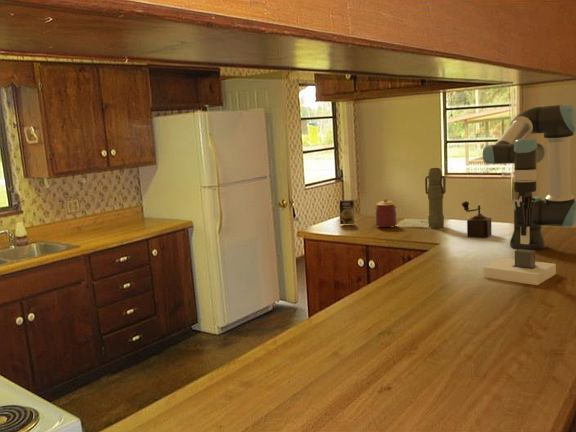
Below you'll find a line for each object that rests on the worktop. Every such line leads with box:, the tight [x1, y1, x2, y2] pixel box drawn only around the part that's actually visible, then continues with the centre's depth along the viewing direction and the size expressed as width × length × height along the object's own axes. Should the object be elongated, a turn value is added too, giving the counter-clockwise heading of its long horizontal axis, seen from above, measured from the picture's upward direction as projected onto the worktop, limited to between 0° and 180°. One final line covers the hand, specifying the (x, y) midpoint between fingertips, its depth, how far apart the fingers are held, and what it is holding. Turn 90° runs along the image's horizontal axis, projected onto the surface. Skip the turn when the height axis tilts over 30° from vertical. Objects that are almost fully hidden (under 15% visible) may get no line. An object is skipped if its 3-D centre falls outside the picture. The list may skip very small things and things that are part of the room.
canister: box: [374, 197, 398, 227], centre depth 325 cm, size 13×13×18 cm
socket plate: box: [482, 257, 557, 286], centre depth 202 cm, size 18×20×4 cm
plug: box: [514, 249, 536, 269], centre depth 200 cm, size 4×6×10 cm, turn 43°
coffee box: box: [339, 199, 355, 225], centre depth 338 cm, size 9×6×16 cm
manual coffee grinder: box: [461, 200, 492, 239], centre depth 281 cm, size 16×11×18 cm
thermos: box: [424, 167, 447, 229], centre depth 311 cm, size 9×12×35 cm
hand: (524, 243), depth 199 cm, fingers closed
